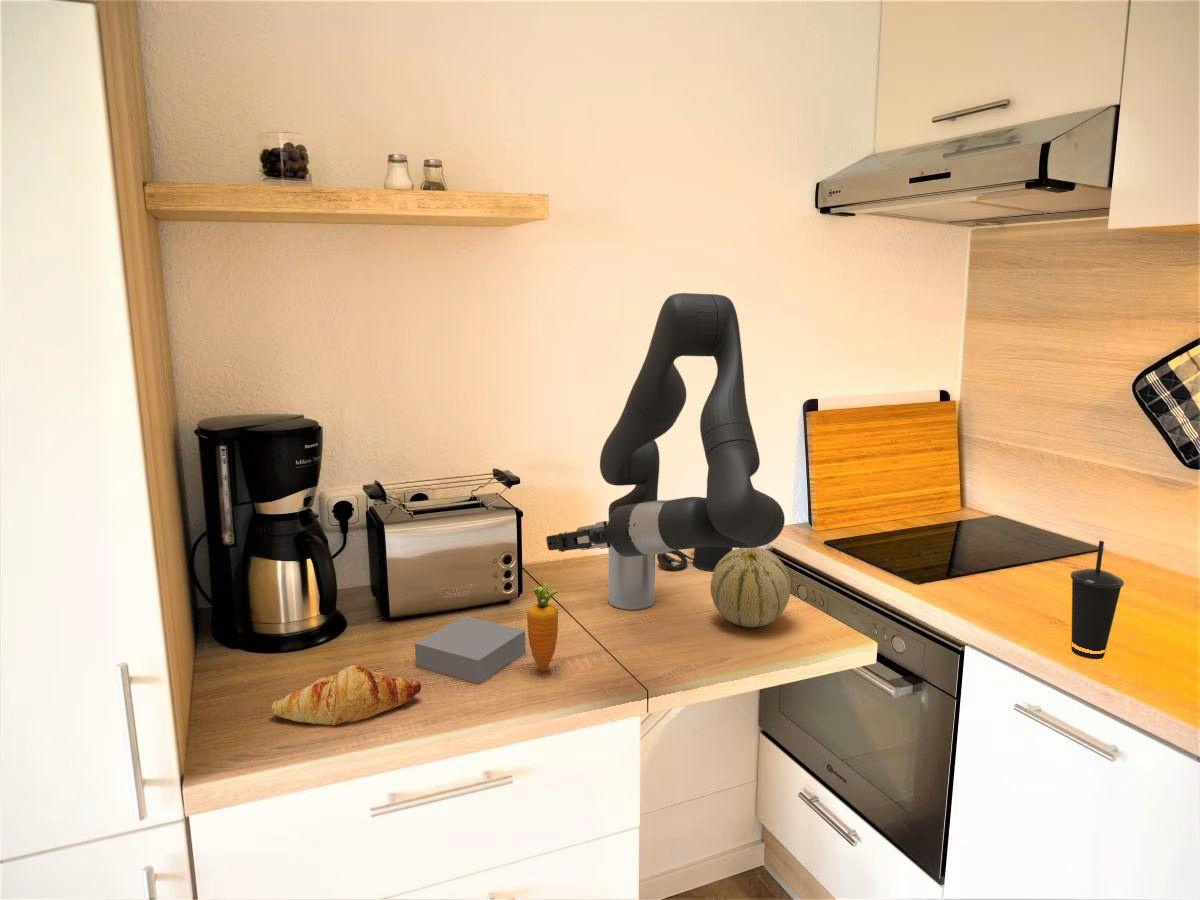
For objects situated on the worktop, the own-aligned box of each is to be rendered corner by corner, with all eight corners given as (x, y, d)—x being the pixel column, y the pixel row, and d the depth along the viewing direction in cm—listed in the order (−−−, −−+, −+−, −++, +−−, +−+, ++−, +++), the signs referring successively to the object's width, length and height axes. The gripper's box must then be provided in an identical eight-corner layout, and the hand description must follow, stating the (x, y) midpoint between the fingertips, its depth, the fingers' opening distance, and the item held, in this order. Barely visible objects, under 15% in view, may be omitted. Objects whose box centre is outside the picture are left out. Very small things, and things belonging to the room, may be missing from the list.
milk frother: (742, 565, 183) (744, 502, 180) (697, 582, 172) (698, 515, 169) (693, 551, 193) (695, 490, 190) (648, 566, 182) (649, 502, 180)
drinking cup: (1054, 651, 139) (1067, 540, 135) (1072, 639, 144) (1085, 532, 140) (1103, 667, 133) (1119, 551, 130) (1120, 654, 138) (1135, 542, 134)
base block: (465, 637, 145) (464, 615, 144) (525, 652, 139) (525, 630, 138) (415, 665, 134) (414, 643, 133) (479, 684, 127) (478, 660, 127)
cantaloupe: (769, 605, 159) (772, 532, 157) (803, 636, 145) (807, 556, 143) (698, 611, 156) (700, 537, 154) (725, 643, 142) (728, 562, 139)
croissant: (272, 752, 115) (265, 720, 110) (275, 692, 122) (268, 660, 117) (424, 726, 121) (423, 695, 116) (418, 671, 128) (417, 639, 123)
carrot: (542, 661, 135) (541, 576, 132) (564, 670, 132) (564, 583, 129) (521, 672, 131) (520, 584, 128) (543, 681, 128) (542, 592, 125)
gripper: (672, 496, 121) (593, 509, 132) (611, 508, 110) (530, 521, 121) (681, 546, 121) (601, 555, 131) (621, 562, 110) (539, 571, 121)
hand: (567, 539), depth 126 cm, fingers open, 8 cm apart
